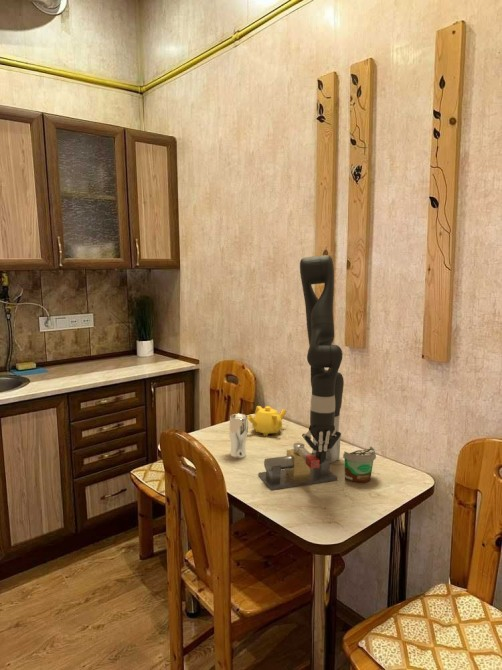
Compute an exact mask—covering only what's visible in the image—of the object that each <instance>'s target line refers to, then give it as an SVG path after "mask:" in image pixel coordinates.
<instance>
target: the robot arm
mask: <svg viewBox="0 0 502 670" xmlns="http://www.w3.org/2000/svg"><path fill="white" fill-rule="evenodd" d="M299 273H300V279H301V285H302V292H303V297H304V304H305V305H304V306H305V316H306V318H305V320H306V329H307V330H306V331H307V336H308V337H307V338H308V344H309V347H308V351H307V354H306V360H307V363H308V364H309V366H310V386H311V395H310V397H311V398H310V412H309V413H310V417H309V427H308V430H307V432H305V433H302V435H301V437H302V438H303V439H304V441H305V442H306V444H308V446H309V448H311V449H312V452H311V453H316V457H317V458H318V459H319V463H323V462H324V460H326V451H329V452H330V454H331V458H332V460H331V463H334V462H337V461H338V460H340V456H341V455H340V453H341V440H342V439H341V437H342V436H341V435H342V433H341V432H340V418H341V417H340V413H341V408H342V403H343V392H344V383H345V382H344V376H343V374H342V373H341V372H339V369H340V366H341V364H342V361H343V350H342V349H341V347H340V345H337V344H333V342H334V339H335V325H334V308H333V307H334V296H335V295H334V294H335V292H334V290H335V267H334V262H333V258H332V256H330V255H328V254H326V255H325V254H323V255H314V256H305V257H302V258H301V259H300V261H299ZM318 284H324V286H323V290H322V292H321V294H320V296H319V298H318V297H317V295H316V293H315V291H314V288H313V286H312V285H318ZM325 368H328V369H325Z"/></svg>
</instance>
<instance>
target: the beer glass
mask: <svg viewBox="0 0 502 670" xmlns="http://www.w3.org/2000/svg"><path fill="white" fill-rule="evenodd" d="M228 427H229V428H228V430H229V431H228V432H229V437H230V452H229V457H231V458H234V459H242V458H245V457H246V456H247V451H246V443H247V437H248V431H249V419H248V415H247V414H244V413H233V414H231V415H230V416H229V423H228Z"/></svg>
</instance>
